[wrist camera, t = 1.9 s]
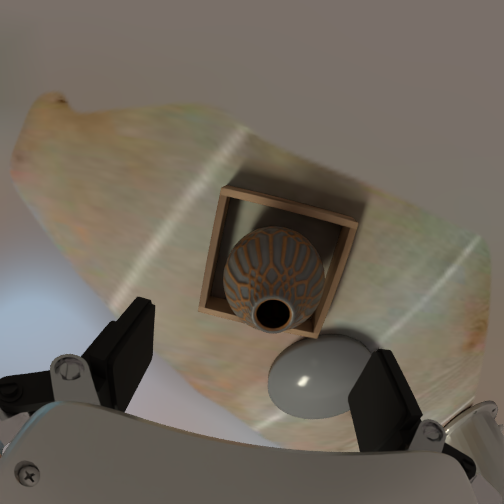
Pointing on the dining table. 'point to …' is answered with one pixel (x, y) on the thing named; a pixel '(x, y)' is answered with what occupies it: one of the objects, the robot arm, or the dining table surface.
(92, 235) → the dining table surface
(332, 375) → the plate
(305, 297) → the vase
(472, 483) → the robot arm
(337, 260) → the holder
